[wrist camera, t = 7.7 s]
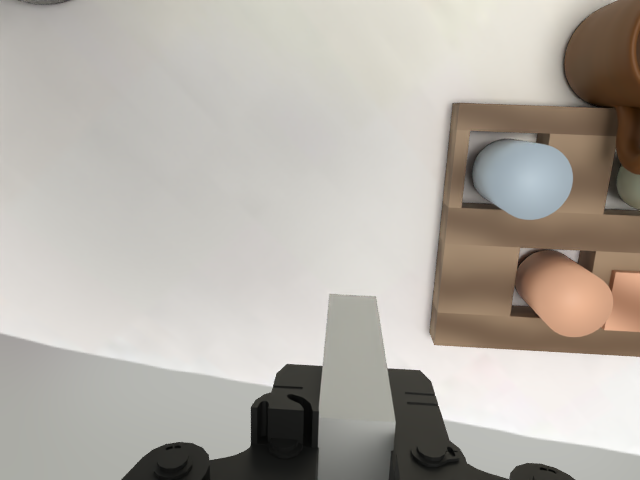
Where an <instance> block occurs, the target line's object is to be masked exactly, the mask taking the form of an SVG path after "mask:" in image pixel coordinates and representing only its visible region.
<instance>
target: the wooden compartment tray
mask: <svg viewBox="0 0 640 480" xmlns="http://www.w3.org/2000/svg"><path fill="white" fill-rule="evenodd" d="M617 128H618V121H617V112H616V109H615V108H587V107H559V106H531V105H503V104H475V103H453V106H452V116H451V125H450V135H449V145H448V155H447V165H446V175H445V184H444V194H443V204H442V214H441V224H440V234H439V243H438V253H437V263H436V273H435V283H434V293H433V302H432V312H431V322H430V335H431V338H432V340H433V343H434V345H443V346H460V347H478V348H495V349H513V350H530V351H548V352H565V353H583V354H601V355H618V356H636V357H640V211H637V210H614V209H604V208H605V202H606V197H607V192H608V186H609V181H610V176H611V171H612V165H613V160H614V155H615V149H616V134H617ZM470 131H491V132H518V133H538V134H537V141H536V143H539V144H545V145H549V146H552V147H554V148H556V149H558V150H559V151H560V152H562V153H563V154H564V155H565V157H566V158H567V159H568V161H569V163H570V165H571V168H572V173H573V183H572V188H571V191H570V194H569V196H568V198H567V199H566V201H565V202H564V203H563V205H562V206H561V207H560V208H559V209H558V210H556V211H555V212H554V213H552V214H550V215H548V216H546V217H544V218H540V219H535V220H525V219H520V218H517V217H514V216H512V215H510V214H509V213H507V212H506V211H504V210H502V209H501V208H499V207H498V206H496V205H494V204H479V203H462V199H463V190H464V181H465V172H466V163H467V154H468V145H469V136H470ZM520 248H541V249H561V250H580V255H579V261H578V264H579V265H580V266H582V267H584V268H585V269H587V270H588V271H590V272H591V273H593V274H594V275H596V276H597V277H599V278H600V279H602V280H603V281H604V282H605V283H606V284H607V285H608V287H609V288H610V290H611V292H612V296H613V308H612V312H611V314H610V316H609V318H608V320H607V321H606V322H605V324H604V325H603V326H602V327H600V328H599V329H598V330H596V331H595V332H593V333H591V334H589V335H586V336H582V337H566V336H562V335H560V334H558V333H556V332H554V331H553V330H552V329H551V328H550V327H549V326H548V325H547V324H546V323H545V322H544V321H543V320H542V319H541V318H540V317H539V316H538V315H537V314H536V313H535V311H534V310H533V309H532V308H531V307H528V306H512V299H513V292H514V286H515V279H516V272H517V265H518V258H519V251H520Z"/></svg>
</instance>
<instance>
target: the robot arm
mask: <svg viewBox="0 0 640 480" xmlns="http://www.w3.org/2000/svg"><path fill="white" fill-rule="evenodd" d="M20 1H23V2H28V3H34V4H54V3H60V2H64V1H68V0H20ZM122 480H575V479H573V478H572V477H571V476H570V475H568V474H566V473H564V472H562V471H560V470H558V469H556V468H554V467H550V466H546V465H543V464H534V463H526V464H523V465H519V466H516V467H515V469H514V470H513V471H512V472H511V473H510V478H509V479H506V478H503V477H499V476H496V475H492V474H489V473H486V472H484V471H481V470H478V469H476V468H474V467H473V466H471V465H469V464H467V462H466V459H465V457H464V455H463V453H462V452H461V451H460V449H459V448H458V447H457V446H456V445H454V444H453V443H452V442H451V441H449V438H448V434H447V431H446V428H445V425H444V422H443V418H442V415H441V412H440V409H439V406H438V402H437V399H436V396H435V393H434V389H433V386H432V383H431V381H430V380H429V379H428V378H427V377H426V376H425V375H424V374H423V373H422V372H421V371H420V370H405V369H388V368H387V364H386V357H385V351H384V345H383V338H382V332H381V325H380V319H379V313H378V306H377V300H376V297H375V296H356V295H337V294H329V305H328V316H327V326H326V337H325V347H324V358H323V366H311V365H294V364H286V365H285V366H284V367H283V368H282V369H281V370H280V371H279V372H278V373H277V374H276V377H275V381H274V385H273V389H272V392H271V393H268V394H264V395H263V396H261V397H260V398H258V399H257V400H255V402H254V404H253V405H252V406H251V446H250V448H248V449H247V450H246V451H244V452H241V453H239V454H237V455H234V456H230V457H226V458H220V459H214V460H209V455H208V454H207V453H206V451H205V450H204V449H203V448H202V447H199V446H197V445H195V444H193V443H183V442H177V443H172V444H165V445H163V446H161V447H158V448H156V449H154V450H152V451H151V452H149V453H148V454H147V455H145V456H144V457H143V458H142V459H141V460H140V461H139V462H138V463H137V464H136V465H135V466H134V467H133V468H132V469H131V470H130V471H129V472H128V473H127V474H126V475H125V476H124V477H123V479H122Z"/></svg>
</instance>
